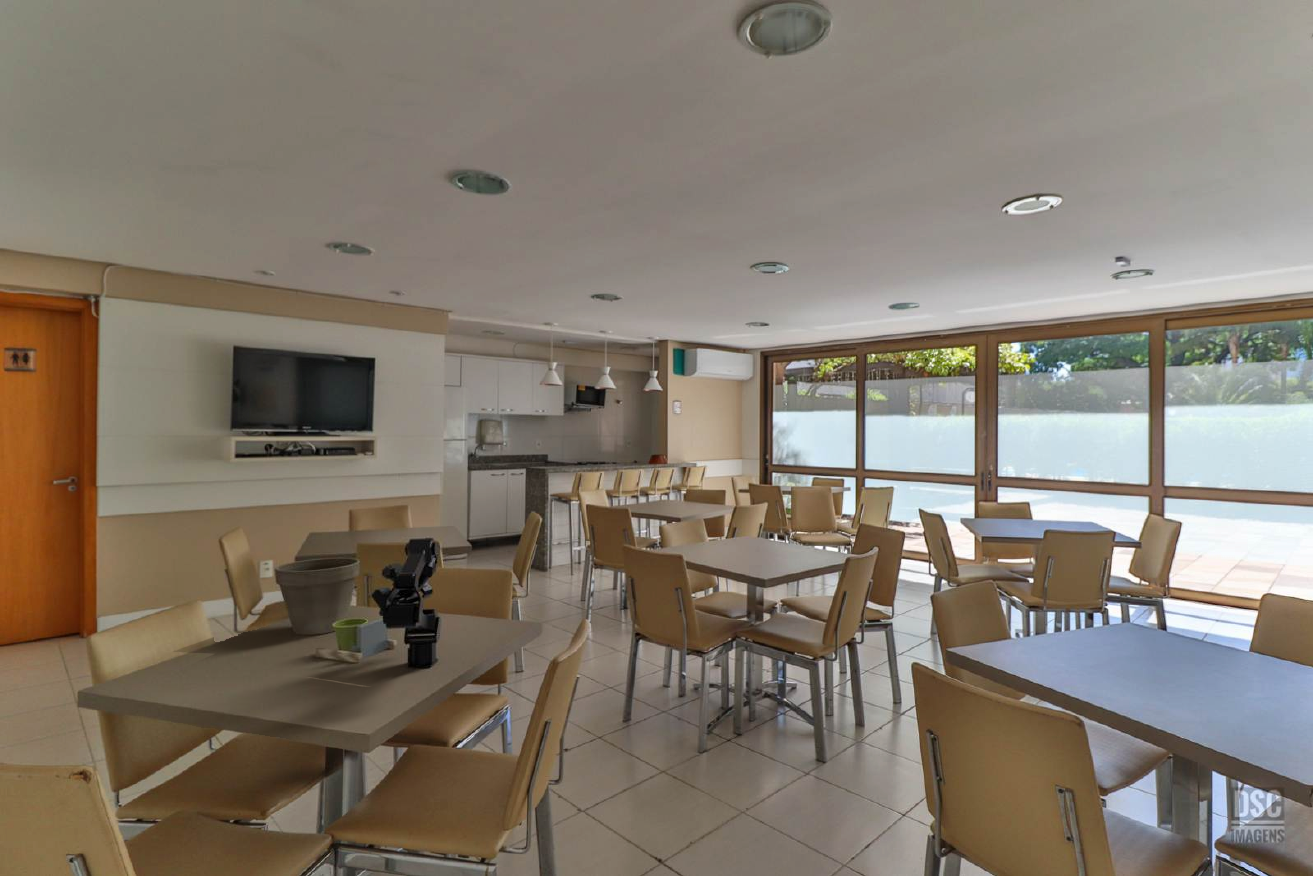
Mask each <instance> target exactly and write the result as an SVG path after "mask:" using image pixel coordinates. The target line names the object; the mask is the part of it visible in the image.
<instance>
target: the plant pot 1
mask: <svg viewBox="0 0 1313 876" xmlns="http://www.w3.org/2000/svg"><path fill="white" fill-rule="evenodd" d="M360 563H361V562H360V559H358V558H352V557H327V558H326V557H325V558H315V559H314V558H313V559H305V560H300V561H299V560H298V561H292V562H288V563H284V564H281V565H278V566H276V567H275V568H274V578H275V583H276V584H277V585H278V586H279V589H280V592H281V595H282V596H281V597H282V598H283V601H284V602H283V603H284V605H285V609H286V611H287V614H288V617H289V621H290V624H291V627H292V629H293V631H294V633H295V634H297V635H300V636H309V635H310V636H313V635H314V636H315V635H322V634H327V633H333V632H335V630H334V627H333V623H335V622H337V621H341V620H345V619H347V615H348V612H349V609H350V608H349V607H350V603H351V600H352V596H353V592H354V588H355V583H356V579H357V578H358V576H359V575H360Z"/></svg>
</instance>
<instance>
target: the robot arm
mask: <svg viewBox="0 0 1313 876" xmlns="http://www.w3.org/2000/svg"><path fill="white" fill-rule="evenodd" d="M441 550H442V548H441V546H440V544H439V543H438V542H437V541H435V539H434V538H433V537H424V538H423V537H422V538H410V539H409V540H408V542H407V543H406V545H405V546H404V553H405V555H406V556H407V557H406V559H405V561H404V563H403V564H401V563H399V562H395V563H391V564H388V565H387V566H384V568H383V569H382V572H381V576H382V577H384V578H385V579H386V580H390V581H392V584H391V585H392V588H391V589H390V588H389V587H388V586H384V587H381V588H376V589H374V590H373V592H372V593H371V598H372V599H373V601H374V602H375V603H376V604H377V606H378V607H379V612H378V615H379V616H380V617H382V618H383V623H384V624H386V628H387V629H388V630H390V629H391V630H392V629H404V634H403V635H404V636H403V640H404V641H403V643H404V644H405V645H408V648H407V665H406V668H413V669H414V668H419V669H420V668H424V669H426V668H431V667H432V666H434V665H435V664H436V663H437V662H438V661H439V658H437V644H438V642H439V641H440V639H441V626H442V625H441V624H442V621H441V619H442V618H441V616H439V613H438V610H436V609H434V608H428V609H427V608H425V609H424V600H425V599H429V598H431V596H432V595H433V591H434V590H433V588H432V586H431V585H430V584H429V582H428V581H429V580H431V578H432V576H433V575H434V574H435V573H436V572H437V568H438V567H437V564H438V561H439V558H440V557H439V556H440V554H441V553H440V552H441ZM421 593H422V595H421Z"/></svg>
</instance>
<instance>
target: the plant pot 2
mask: <svg viewBox="0 0 1313 876" xmlns="http://www.w3.org/2000/svg"><path fill="white" fill-rule="evenodd" d="M367 623H369V620H368V619H367V618H363V617H361V618H360V617H356V618H355V617H353V618H346V619H345V620H341V621H337V622H335V623H333V627H334V630H335V631H334V632H335V635H336V641H337V648H338V649H337V650H342V651H349V652H351V647H354V646H356V645H357V627H358V626H361V625H364V624H367Z"/></svg>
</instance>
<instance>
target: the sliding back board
mask: <svg viewBox="0 0 1313 876" xmlns="http://www.w3.org/2000/svg"><path fill="white" fill-rule="evenodd" d="M388 630H389V629H387V628H386V624H384V623H383V617H382V618H380V619H377V620H374V621H370V622H368V623H367V624H364V625H361V626H358V627H357V645H356V646H354V647H351V652H356V653H362V660H364V659H366V658H369V657H371V656H374V655H377V654H379V653H382V652H384V651H387V650H388V649H389V648H388V634H389V633H388Z"/></svg>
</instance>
